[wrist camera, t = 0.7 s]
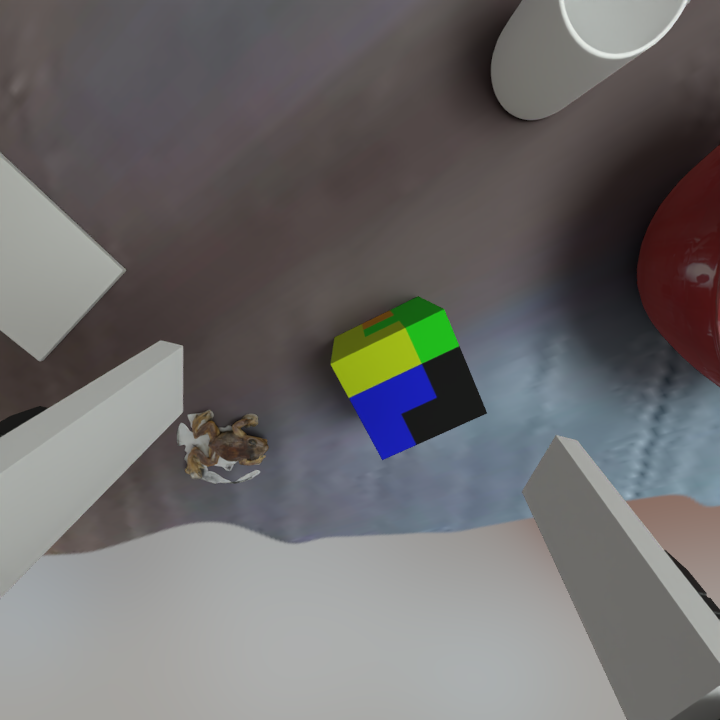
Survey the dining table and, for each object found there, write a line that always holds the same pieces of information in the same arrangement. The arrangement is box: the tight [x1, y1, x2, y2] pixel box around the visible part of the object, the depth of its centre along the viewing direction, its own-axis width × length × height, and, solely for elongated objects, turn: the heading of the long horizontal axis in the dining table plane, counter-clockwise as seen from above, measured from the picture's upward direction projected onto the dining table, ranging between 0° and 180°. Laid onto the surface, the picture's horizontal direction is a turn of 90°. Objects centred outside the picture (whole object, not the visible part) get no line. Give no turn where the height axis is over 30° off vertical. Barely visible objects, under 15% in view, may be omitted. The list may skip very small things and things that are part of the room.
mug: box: [491, 0, 690, 120], centre depth 26 cm, size 9×12×11 cm
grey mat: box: [0, 153, 127, 361], centre depth 33 cm, size 16×14×1 cm
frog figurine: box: [177, 410, 268, 484], centre depth 39 cm, size 12×12×4 cm
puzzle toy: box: [331, 297, 487, 460], centre depth 33 cm, size 10×10×10 cm
